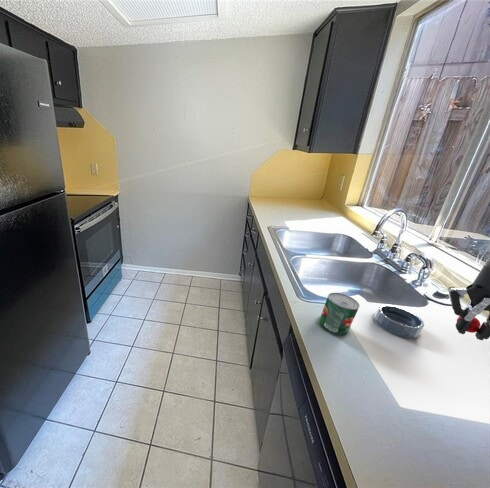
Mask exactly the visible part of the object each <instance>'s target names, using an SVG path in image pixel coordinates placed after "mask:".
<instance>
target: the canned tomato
mask: <svg viewBox="0 0 490 488" xmlns="http://www.w3.org/2000/svg"><path fill="white" fill-rule="evenodd" d="M359 308H360V303H359V302H358V301H357V299H355V298H353V297H352V296H350V295H348V294H344V293H341V292H330V293H328V295H327V297H326V301H325V303H324V306H323V309H322V311H321V314H320V316H319V319H318V325H319V326H320V327H321V329H323V330H324V331H325V332H327V333H330V334H332V335H333V336H338V337H341V336H342V337H343V336H346V335H347V334H348V332H349V330H350V329H351V326H352V324H353V322H354V319H355V318H356V315H357V313H358V311H359Z"/></svg>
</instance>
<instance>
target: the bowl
mask: <svg viewBox="0 0 490 488" xmlns="http://www.w3.org/2000/svg"><path fill="white" fill-rule="evenodd" d="M373 319H374V322H375V323H376V324H377V325H378V326H379V327H380V328H381V329H383V330H384V331H386V332H387V333H390V334H391V335H394V336H397V337H400V338H404V339H417V338H418V337H419V335H420V333H421V332H422V331H423V328H424V327H425V323H424V321H423V319H422V318H421V317H419V316H418V315H417V314H415V313H413V312H411V311H410V310H408V309H406V308H402V307H399V306H397V305H392V304H381V305H380V306H378V307H377V310H376V312H375V315H374V317H373ZM397 321H398V322H397Z"/></svg>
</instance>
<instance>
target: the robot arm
mask: <svg viewBox="0 0 490 488" xmlns="http://www.w3.org/2000/svg"><path fill="white" fill-rule="evenodd" d="M448 294H449V300H450V303H451V309H452V311H453V313H454V315H456V316H458V317H459V316H461V317H460V318H459V320H458V322H457V321H456V323H455V329H456V331H457V332H458V334H461V335H465V334H466V332H467V329H468V328H469V326H470V325H471V323H472V322H471V320H473V319H474V317H475V318H476V317H477V316H478V315H480V314H481V313H483V311H484V312H485V311H486V312H488V315H487V317H486V321H483V322H482V323H481V324H480V328H479V330H478V331H477V332H475V335H474V336H475V337H476V339H477V340H479V341H484V340H489V339H490V256H489V257H488V258H487V259H486V261H485V263H484V264H483V266H482V268H481V269H480V271H479V272H478V274H477V276H476V277H475V279H474V281H473V282H472V283H470V284H469V285H467V286H466V287H463V288H462V287H460V288H459V287H458V288H457V287H455V286H448ZM465 295H467V296H468V298H469V300H470V301H469V302H468V303H467V305H466V307H465V308H464V309H463V308H462V304H461V299H464V298H465Z"/></svg>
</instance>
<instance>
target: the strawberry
mask: <svg viewBox="0 0 490 488" xmlns="http://www.w3.org/2000/svg"><path fill="white" fill-rule="evenodd" d="M460 317H461V316H459V315H458V317H457V318H456V323H457V322H458V320H459V318H460ZM471 322H472V323H471V325H470V326H469V328H468V329H467V331H466V332H467V333H470V334H471V333H472V334H473V333H476V332H477V331H478V330H479V328H480V326H481V322H480V320H479V319H478V318H477V317H476V316H475V317H474V319H473V320H471Z"/></svg>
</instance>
